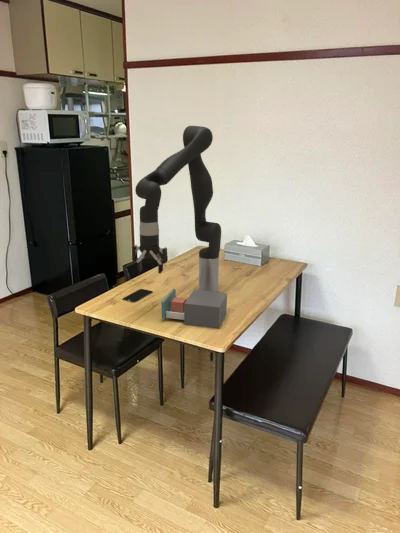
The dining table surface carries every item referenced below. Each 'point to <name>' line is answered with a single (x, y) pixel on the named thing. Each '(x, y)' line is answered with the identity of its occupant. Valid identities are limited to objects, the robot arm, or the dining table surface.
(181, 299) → the block
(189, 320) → the housing
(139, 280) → the dining table surface
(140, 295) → the smartphone
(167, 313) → the drawer
